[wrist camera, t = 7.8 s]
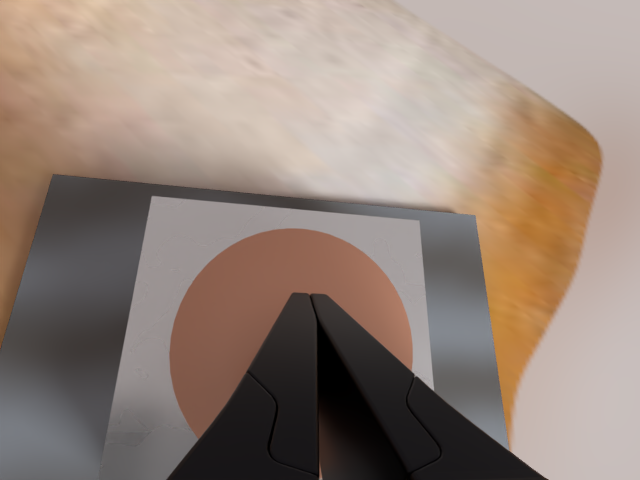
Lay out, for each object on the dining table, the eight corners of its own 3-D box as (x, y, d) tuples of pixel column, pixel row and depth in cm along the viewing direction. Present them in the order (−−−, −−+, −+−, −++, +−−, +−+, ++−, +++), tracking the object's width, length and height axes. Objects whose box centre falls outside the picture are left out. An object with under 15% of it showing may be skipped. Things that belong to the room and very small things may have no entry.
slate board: (509, 548, 17) (524, 558, 16) (-54, 588, 13) (-77, 605, 12) (465, 222, 22) (475, 215, 21) (62, 184, 19) (53, 174, 18)
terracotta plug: (350, 437, 15) (422, 478, 9) (190, 439, 14) (148, 487, 8) (348, 286, 18) (405, 237, 11) (209, 278, 17) (188, 219, 10)
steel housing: (387, 481, 16) (445, 524, 11) (137, 490, 14) (85, 545, 10) (377, 257, 19) (419, 220, 15) (176, 243, 18) (151, 196, 13)
